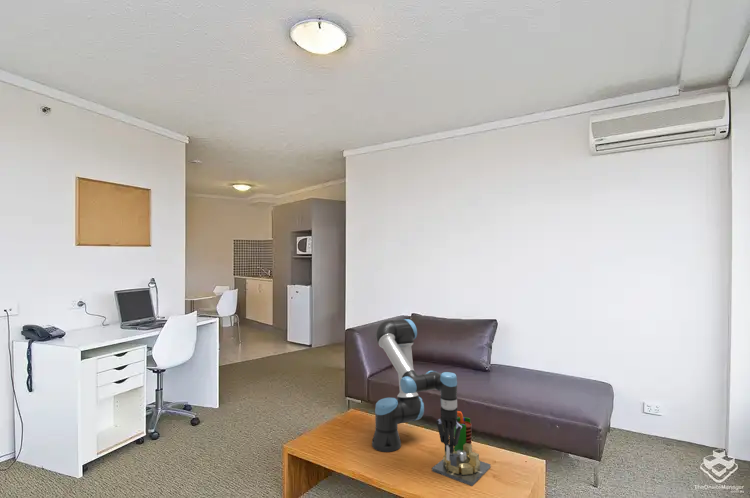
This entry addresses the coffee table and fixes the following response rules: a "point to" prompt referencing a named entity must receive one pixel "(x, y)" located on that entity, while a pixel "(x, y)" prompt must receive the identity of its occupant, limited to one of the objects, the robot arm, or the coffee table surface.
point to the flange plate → (466, 479)
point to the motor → (463, 431)
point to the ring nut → (463, 468)
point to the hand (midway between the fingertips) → (449, 459)
